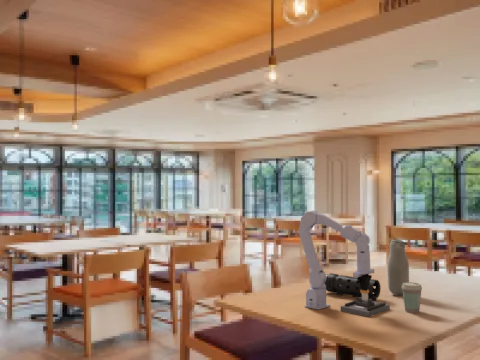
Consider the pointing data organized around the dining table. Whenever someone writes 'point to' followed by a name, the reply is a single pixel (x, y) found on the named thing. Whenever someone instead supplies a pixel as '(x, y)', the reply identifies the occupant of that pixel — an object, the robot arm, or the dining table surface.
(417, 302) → the coffee cup
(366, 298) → the breaker lever
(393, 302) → the dining table surface
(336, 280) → the muzzle brake
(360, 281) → the robot arm
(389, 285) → the grey bottle
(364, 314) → the breaker panel
